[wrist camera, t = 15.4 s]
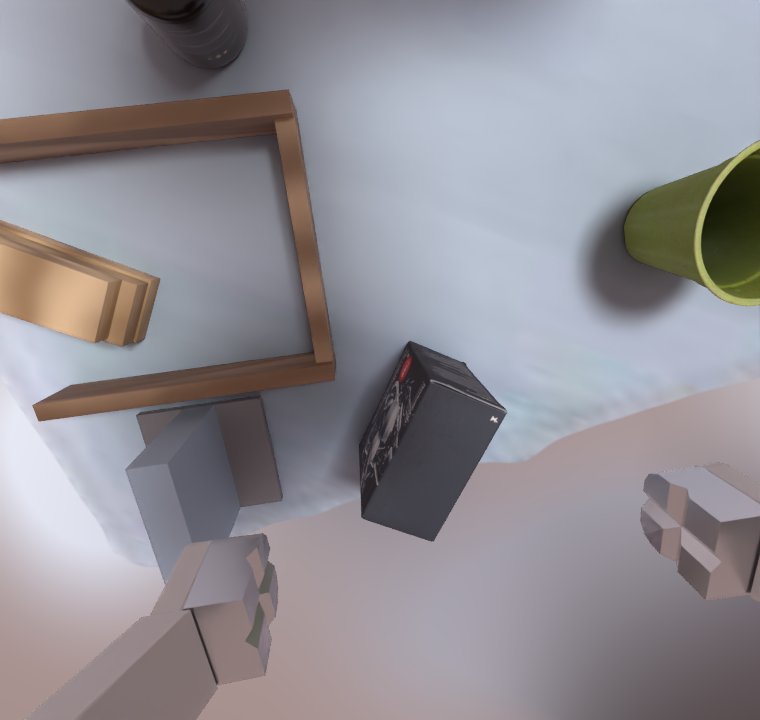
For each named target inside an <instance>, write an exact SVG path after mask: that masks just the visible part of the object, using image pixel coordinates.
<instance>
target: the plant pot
mask: <svg viewBox="0 0 760 720" xmlns="http://www.w3.org/2000/svg"><path fill="white" fill-rule="evenodd" d="M624 233H625V246H626V249H627V251H628V252H629V254H630V255H631V256H632V257H633V258H634V259H635V260H637V261H639V262H641V263H643V264H646V265H649V266H652V267H655V268H658V269H661V270H664V271H667V272H670V273H673V274H676V275H679V276H682V277H685V278H688V279H691V280H693V281H695V282H697V283H698V284H700V285H702V286H704V287H706V288H708V289H709V290H710V291H711V292H712V293H713V294H714V295H716V296H717V297H718V298H720V299H722V300H724V301H726V302H729V303H732V304H736V305H741V306H756V305H760V140H759V141H757V142H755V143H753V144H752V145H750V146H749V147H747V148H746V149H744V150H743V151H742V152H740V153H739V154H738V155H737V156H735V157H732V158H730V159H728V160H726V161H725V162H723V163H721V164H720V165H717V166H715V167H712V168H709V169H707V170H704V171H701V172H699V173H696V174H693V175H690V176H688V177H685V178H682V179H679V180H677V181H674V182H671V183H668V184H666V185H663V186H660V187H657V188H655V189H653V190H651V191H649V192H647V193H645V194H644V195H643V196H642V197H641V198H640V199H639V200H637V201H636V203H635V204H634V205H633V206H632V208H631V210H630V211H629V213H628V215H627V218H626V221H625V224H624Z"/></svg>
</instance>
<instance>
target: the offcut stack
mask: <svg viewBox="0 0 760 720" xmlns="http://www.w3.org/2000/svg"><path fill="white" fill-rule="evenodd" d="M159 282H160V278H157V277H154V276H152V275H149V274H146V273H143V272H141V271H138V270H135V269H133V268H130V267H127V266H124V265H122V264H119V263H116V262H113V261H111V260H108V259H105V258H103V257H100V256H97V255H94V254H92V253H89V252H86V251H83V250H81V249H78V248H75V247H73V246H70V245H67V244H64V243H62V242H59V241H56V240H53V239H51V238H48V237H45V236H43V235H40V234H37V233H34V232H32V231H29V230H26V229H24V228H21V227H18V226H15V225H13V224H10V223H7V222H4V221H2V220H0V312H1V313H4V314H7V315H10V316H13V317H16V318H19V319H22V320H25V321H28V322H31V323H34V324H37V325H40V326H43V327H46V328H49V329H52V330H55V331H58V332H61V333H65V334H68V335H71V336H74V337H77V338H80V339H83V340H86V341H89V342H92V343H96V342H99V341H101V340H103V341H106V342H109V343H112V344H115V345H118V346H121V347H122V346H124V345H126V344H129V343H131V342H134V343H136V342H138V341H140V340H143V339H145V336H146V332H147V328H148V324H149V320H150V316H151V313H152V309H153V305H154V301H155V297H156V294H157V290H158V286H159Z"/></svg>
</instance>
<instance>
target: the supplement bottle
mask: <svg viewBox="0 0 760 720" xmlns="http://www.w3.org/2000/svg"><path fill="white" fill-rule="evenodd" d="M126 1H127V2H128V3H129V4H130V6H131V7H132V8H133V9H134V10H135V11H136V12H137V13H138V14H139V15H140V16H141V17H142V18H143V19H144V20H145V21H146V23H147V24H148V25H149V26H150V27H151V28H152V29H153V30H154V31H155V32H156V33H157V34H158V35H159V36H160V37H161V38H162V39H163V41H164V42H165V43H166V44H167V45H168V46H169V47H170V48H171V49H172V50H173V51H174V52H175V53H176V54H177V55H178V56H180V57H181V58H182V59H184V60H185V61H187V62H188V63H190V64H192V65H195V66H198V67H202V68H218V67H221V66H224V65H226V64H228V63H229V62H231V61H232V60H233V59H234V58H235V57H236V56H237V55H238V54H239V52H240V51H241V49H242V47H243V45H244V42H245V39H246V34H247V15H246V10H245V6H244V3H243V0H126Z"/></svg>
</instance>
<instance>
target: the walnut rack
mask: <svg viewBox="0 0 760 720" xmlns="http://www.w3.org/2000/svg"><path fill="white" fill-rule="evenodd" d="M275 133H277V139H278V145H279V150H280V156H281V162H282V168H283V174H284V180H285V185H286V191H287V197H288V203H289V209H290V214H291V220H292V226H293V232H294V238H295V243H296V249H297V255H298V261H299V267H300V273H301V278H302V284H303V290H304V296H305V302H306V307H307V313H308V319H309V325H310V331H311V337H312V342H313V348H314V352H311V353H304V354H296V355H289V356H282V357H274V358H267V359H260V360H252V361H245V362H237V363H230V364H223V365H215V366H208V367H201V368H193V369H186V370H178V371H171V372H164V373H156V374H149V375H142V376H134V377H127V378H120V379H112V380H105V381H97V382H90V383H83V384H75V385H70V386H68V387H66V388H64V389H62V390H61V391H59V392H57V393H55V394H53V395H51V396H49V397H47V398H45V399H44V400H42V401H40V402H38V403H36V404H34V405H32V406H33V408H34V411H35V413H36V416H37V418H38V421H46V420H53V419H60V418H67V417H74V416H82V415H89V414H96V413H103V412H110V411H117V410H125V409H132V408H139V407H146V406H153V405H160V404H168V403H175V402H182V401H189V400H196V399H204V398H211V397H218V396H225V395H232V394H239V393H247V392H254V391H261V390H268V389H275V388H282V387H290V386H297V385H304V384H311V383H318V382H326V381H333V380H335V372H336V360H335V354H334V348H333V341H332V335H331V329H330V322H329V316H328V309H327V303H326V297H325V290H324V284H323V278H322V271H321V265H320V258H319V252H318V246H317V239H316V233H315V226H314V220H313V214H312V207H311V201H310V195H309V188H308V182H307V175H306V169H305V163H304V156H303V150H302V144H301V137H300V131H299V124H298V118H297V112H296V109H295V106H294V103H293V100H292V98H291V95H290V92H289V90H280V91H271V92H261V93H251V94H242V95H232V96H222V97H213V98H203V99H193V100H184V101H174V102H164V103H155V104H145V105H135V106H126V107H116V108H107V109H97V110H87V111H78V112H68V113H58V114H49V115H39V116H29V117H20V118H10V119H0V163H8V162H17V161H26V160H35V159H45V158H54V157H63V156H72V155H81V154H91V153H100V152H109V151H118V150H127V149H137V148H146V147H155V146H164V145H174V144H183V143H192V142H201V141H210V140H220V139H229V138H238V137H247V136H256V135H266V134H275Z"/></svg>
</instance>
